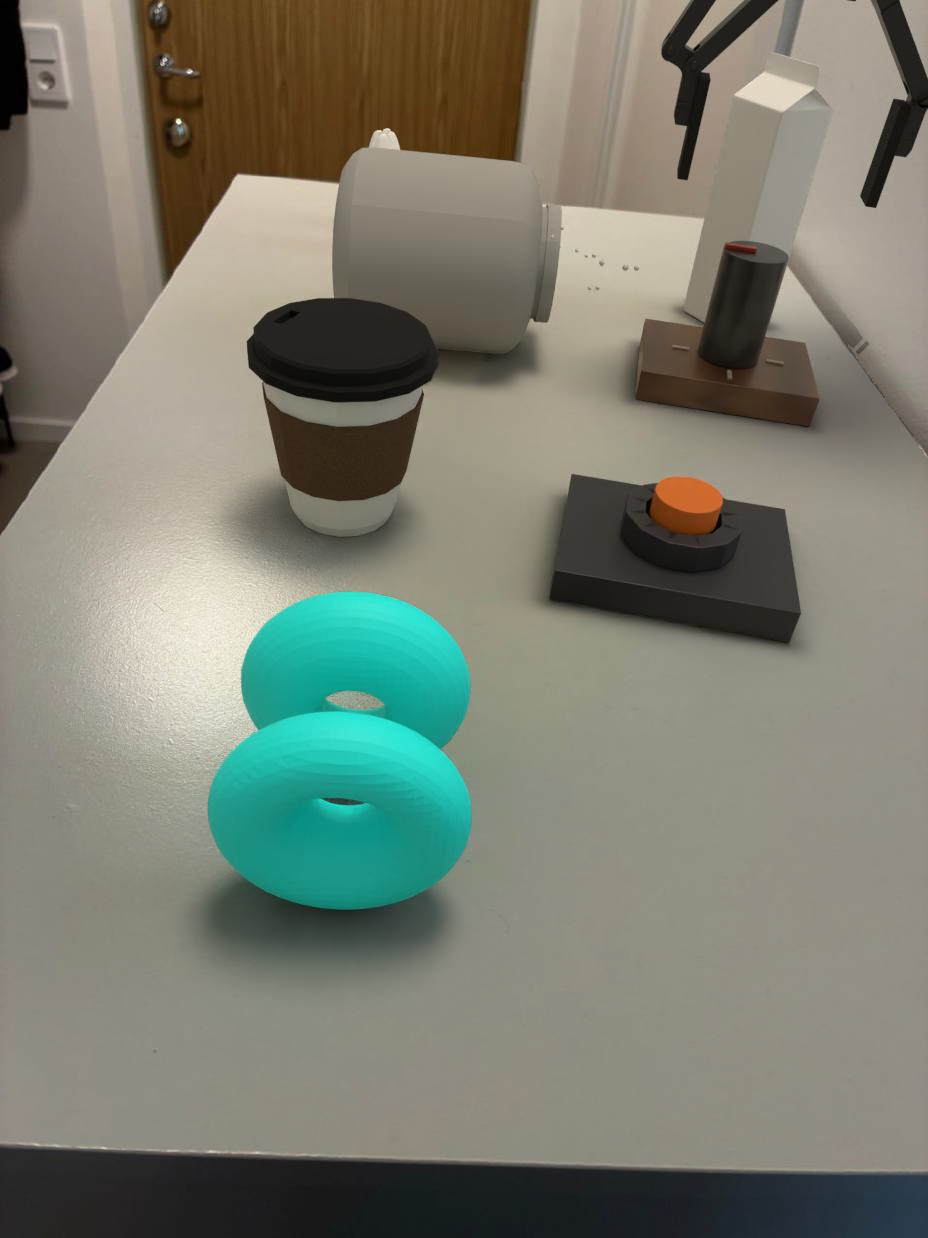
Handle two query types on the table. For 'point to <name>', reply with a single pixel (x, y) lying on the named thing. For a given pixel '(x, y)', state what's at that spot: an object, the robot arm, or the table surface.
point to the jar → (448, 244)
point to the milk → (762, 168)
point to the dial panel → (725, 376)
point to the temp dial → (742, 303)
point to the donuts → (346, 756)
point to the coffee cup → (342, 405)
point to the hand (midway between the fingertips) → (774, 188)
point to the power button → (686, 505)
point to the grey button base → (676, 562)
